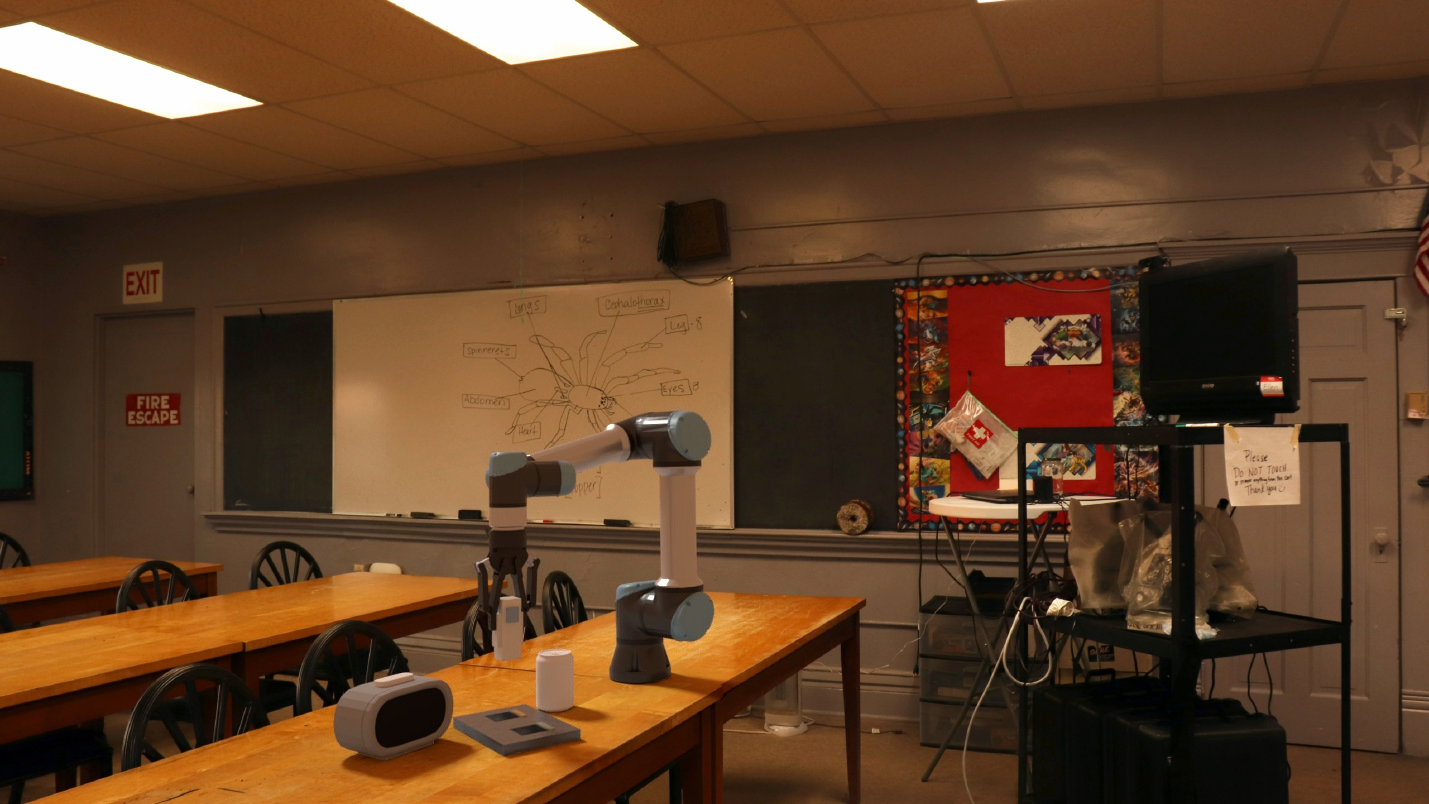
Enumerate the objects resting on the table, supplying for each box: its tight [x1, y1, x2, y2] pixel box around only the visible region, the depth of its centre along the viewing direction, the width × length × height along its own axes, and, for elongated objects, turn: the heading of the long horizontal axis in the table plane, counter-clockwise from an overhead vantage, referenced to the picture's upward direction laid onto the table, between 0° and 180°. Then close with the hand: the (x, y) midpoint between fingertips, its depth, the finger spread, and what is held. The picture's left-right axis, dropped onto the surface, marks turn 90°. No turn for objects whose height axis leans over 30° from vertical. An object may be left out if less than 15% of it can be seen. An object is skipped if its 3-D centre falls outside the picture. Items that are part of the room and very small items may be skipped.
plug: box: [493, 595, 522, 662], centre depth 198 cm, size 4×5×12 cm
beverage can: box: [535, 648, 575, 713], centre depth 214 cm, size 8×8×12 cm
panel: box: [452, 703, 582, 757], centre depth 195 cm, size 16×24×2 cm, turn 37°
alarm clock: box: [333, 672, 454, 762], centre depth 187 cm, size 21×10×13 cm, turn 148°
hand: (507, 644), depth 198 cm, fingers closed on plug, 4 cm apart
